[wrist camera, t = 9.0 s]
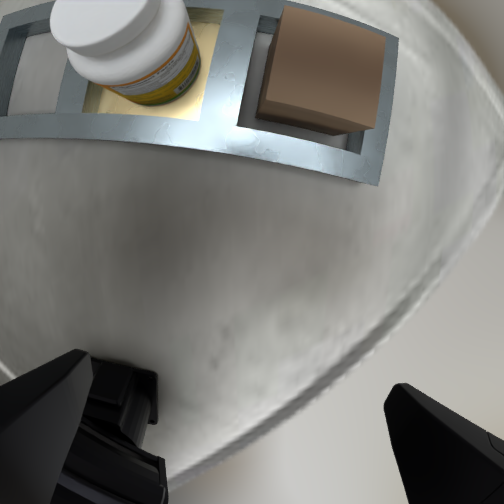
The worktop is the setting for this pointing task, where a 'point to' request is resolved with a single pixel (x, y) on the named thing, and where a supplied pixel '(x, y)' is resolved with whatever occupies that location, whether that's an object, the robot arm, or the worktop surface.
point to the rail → (196, 95)
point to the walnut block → (322, 74)
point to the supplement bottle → (130, 46)
